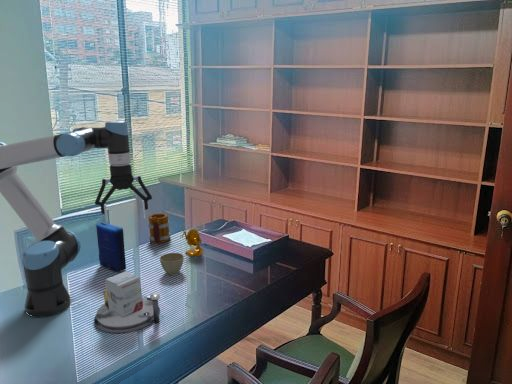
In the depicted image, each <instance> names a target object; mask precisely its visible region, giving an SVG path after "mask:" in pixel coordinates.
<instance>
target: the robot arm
mask: <svg viewBox="0 0 512 384" xmlns="http://www.w3.org/2000/svg"><path fill="white" fill-rule="evenodd" d="M129 135H130V134H129V130H128V125H127V122H126V121H124V120H110V121H105V124H104V126H103V127H102V126H101V127H98V126H97V127H85V126H84V127H83V126H82V127H75V128H73V129H72V131H69V132H65V133H64V132H63V133H60V134H59V133H58V134H55V135H50V136H44V137H39V138H34V139H29V140H24V141H18V142H14V143H9V144H8V143H5V142H3V141H0V195H1V196H3V198H4V199H5V200H6V202H7V203H8V204H9V205H10V207H11V208H12V210H14V212H15V213H16V215H17V216H18V217H19V218H20V220H21V221H22V222H23V224H24V225H25V227H26V228H27V229H28V230H29V232H30V233H31V234H32V235H33V237H34V243H32V244H30V245H28V246H26V247H25V248H24V250H23V251H22V257H21V258H22V265H23V266H22V267H23V271H24V277H25V282H26V287H27V288H26V289H27V294H26V296H25V297H26V298H25V303H24V310H25V311H26V312H27V313H28V314H29V315H32V316H38V317H37V318H40V317H39V316H45V317H49V315H50V316H54V315H56V314H59V313H62V312H63V311H65V310H66V309H68V308H69V307H70V305H71V304H72V303H71V302H72V301H71V296H70V293H69V292H68V289H67V288H66V286H65V284H64V281H63V273H62V272H63V271H62V270H64V269H65V267H66V266H68V265H69V264H70V263H71V262H73V261H74V260H75V259H76V258H77V256H79V253H80V251H81V247H82V246H81V241H80V238H79V237H78V235H76V233H74V232H73V231H70V230H66V229H65V227H64V226H63V225H62V224H57V223H55V221H54V220H53V219H52V217H51V216H50V214H49V213H48V211H46V209H45V208H44V207H43V206H42V204H41V203H40V202H39V200H38V199H37V198H36V196H35V195H34V194H33V192H32V190H30V188H29V187H28V185H27V184H26V183H25V182H24V180H23V179H22V178H21V177H20V175H19V174H18V172H17V171H18V166H19V167H20V166H24V165H28V164H34V163H38V162H43V161H44V162H45V161H49V160H55V159H60V158H65V157H68V158H69V157H75V156H76V157H77V156H79V155H80V154H81V153H85V152H87V151H90V150H92V149H107V153H108V154H107V155H108V163H109V164H108V165H110V166H109V172H110V178H105V177H102V179H101V186H100V189H99V191H98V193H97V196H96V198H95V201H94V205H96V206H97V205H98V206H100V212H101V215H104V217H105V219H104V220H105V223H108V224H109V218H108V217H109V216H108V208H107V202H108V200H109V199H110V197H111V196H112V195H113V193H114V192H115V191H116V190H118V191H120V190H128V189H130V190H131V191H133V193H135V194H136V195H137V196H138V197H139V198H140V199H141V205H142V215H143V219H144V220H146V219H147V218H146V211H147V210H148V209H149V204H148V202H149V201H150V200H152V199H153V196H152V194H151V192H150V191H149V189H148V188H147V187H146V185H145V183H144V181H143V180H142V176H141V175H140V174H138V175H135V176H134V175H133V169H132V164H131V161H132V160H131V151H130V140H129ZM134 181H135V182H136V183H138V184H139V186H140V187H141V189H142V190H143V192H144V193H142V192H141V191H140V190H139V189H138V187H136V186H135V184H133V183H134ZM109 183H110V184H111V185H112V186H111V187H110V188H109V190H108V191H107V193H106V194H105V196H104V197H103V198H102V196H103V194H104V191H105V188H106V186H108V185H109ZM145 195H146V196H145ZM101 198H102V199H101ZM25 311H24V312H25ZM26 312H25V313H26ZM53 314H54V315H53ZM29 315H28V316H29ZM32 316H31V317H32Z"/></svg>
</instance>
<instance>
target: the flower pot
mask: <svg viewBox="0 0 512 384" xmlns="http://www.w3.org/2000/svg"><path fill="white" fill-rule="evenodd" d="M184 257H185V256H184V254H182V253H179V252H168V253H164V254H162V255H160V257H159V262H160V265H161V267H162V269H163V270H164V272H165V273H166V274H167V275H168V276H174V275H175V276H176V275H178V274H179V273H180V272H181V269H182V266H183V264H184V259H185V258H184Z"/></svg>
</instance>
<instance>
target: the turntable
mask: <svg viewBox="0 0 512 384" xmlns="http://www.w3.org/2000/svg"><path fill="white" fill-rule="evenodd" d="M147 297H148V296H146V295H142V301H143V307H142V308H140V309H138V310H136V311H134V312H132V313H130V314H129V315H127V316H125V317H122V316H120V315H118V314H116V313H114V312H112V311H110V310H109V304H108V296H107V289H105V290H103V298H104V303H103V304H102V305H101V306H99V308H98V309H97V311H96V314H97V321H98V323H99V324H100V325H101V326H103V327H105V328H109V329H128V328H133V327H137V326H139V325H142V324H144V323H146V322H148V321H149V320H151V319H152V318H153V317H154V313H153V301H150V300H147Z"/></svg>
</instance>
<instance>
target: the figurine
mask: <svg viewBox="0 0 512 384" xmlns="http://www.w3.org/2000/svg"><path fill="white" fill-rule="evenodd" d="M182 232H183V233H182V235H180V239H183V238H184V237H185V240H186V241H187V242H186V244H188V246H190V247H195V246H196V247H195V248H192V249H188V250H186V251H185V253H184V254H185V255H186V256H189V257H195V256H196V257H201V256H203V255H202V254H204V250H203V249H204V248H202V247H201V242H202V239H201V235H200V233H199V231H198V230H197V229H194V228H192V229H190V230H188V232H187V231H185V230H184V231H182ZM200 255H201V256H200Z"/></svg>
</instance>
